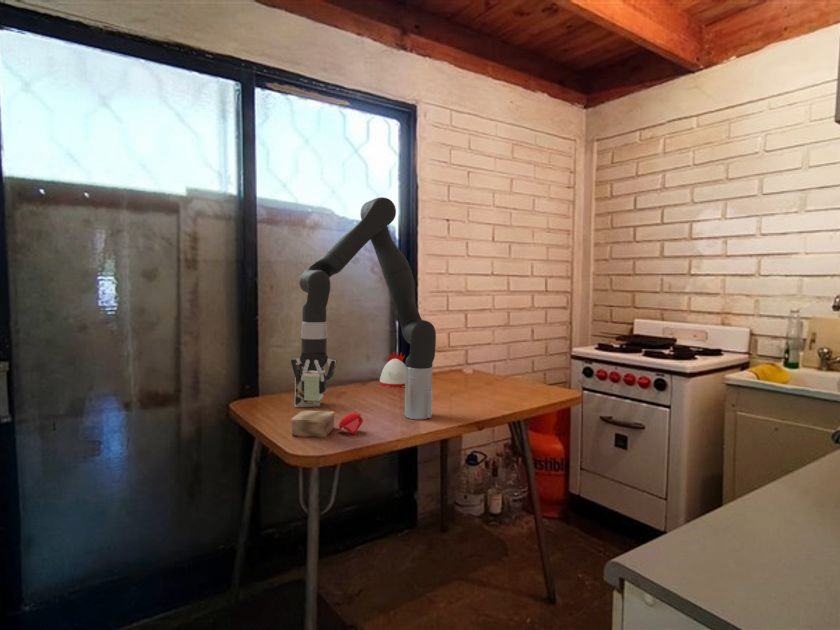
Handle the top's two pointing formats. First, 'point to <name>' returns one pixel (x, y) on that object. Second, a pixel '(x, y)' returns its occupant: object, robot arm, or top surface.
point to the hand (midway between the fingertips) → (313, 392)
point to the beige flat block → (313, 423)
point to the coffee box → (300, 395)
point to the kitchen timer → (393, 372)
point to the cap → (351, 423)
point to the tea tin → (312, 386)
